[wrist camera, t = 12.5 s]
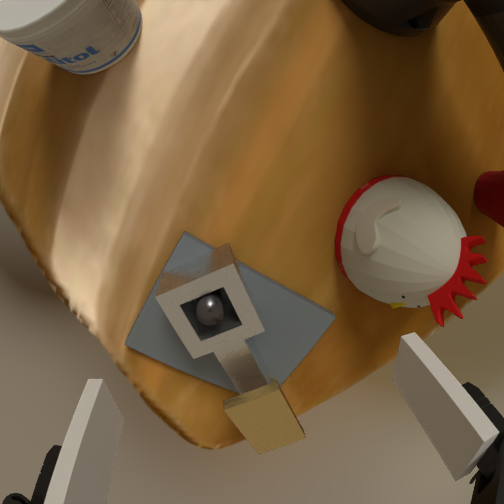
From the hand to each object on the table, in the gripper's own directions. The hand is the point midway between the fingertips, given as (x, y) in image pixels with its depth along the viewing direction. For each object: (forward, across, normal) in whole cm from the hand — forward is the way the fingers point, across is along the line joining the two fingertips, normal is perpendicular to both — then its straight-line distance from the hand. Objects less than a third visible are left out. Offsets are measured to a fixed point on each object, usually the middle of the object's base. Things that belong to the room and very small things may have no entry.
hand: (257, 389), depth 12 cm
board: (+20, -2, -10) cm, 22 cm away
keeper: (+19, 0, -15) cm, 24 cm away
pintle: (+19, -3, -3) cm, 19 cm away
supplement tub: (+21, -11, +23) cm, 33 cm away
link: (+19, -2, -8) cm, 21 cm away
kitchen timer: (+21, +18, -2) cm, 27 cm away
